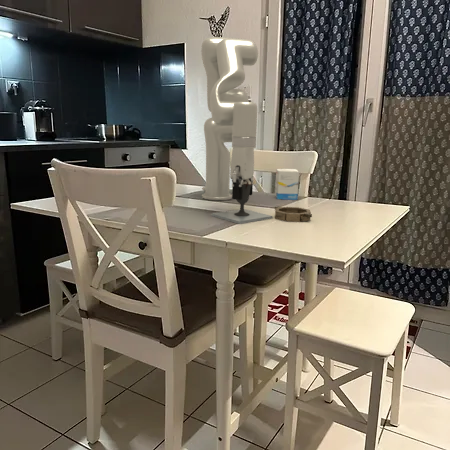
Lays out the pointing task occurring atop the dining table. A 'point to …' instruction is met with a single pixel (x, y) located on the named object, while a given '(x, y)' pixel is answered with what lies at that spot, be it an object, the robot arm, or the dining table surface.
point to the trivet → (242, 219)
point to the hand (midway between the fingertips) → (242, 197)
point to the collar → (292, 214)
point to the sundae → (244, 197)
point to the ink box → (287, 184)
